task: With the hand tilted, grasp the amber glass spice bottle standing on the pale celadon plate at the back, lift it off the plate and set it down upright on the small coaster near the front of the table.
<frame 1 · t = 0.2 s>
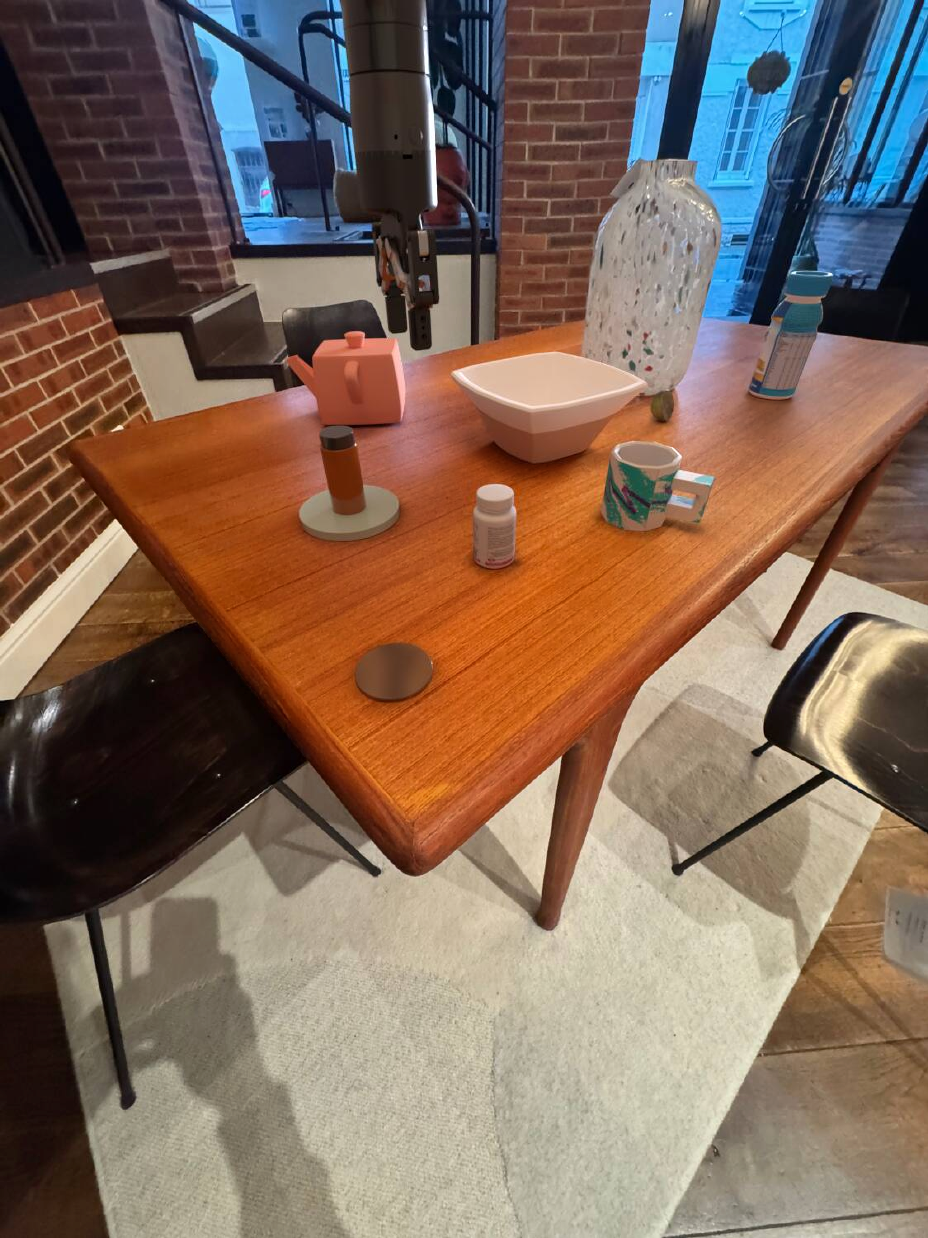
hand: (409, 340, 59), 20 cm above the table, tool pointing down, fingers open, 8 cm apart
coaster: (394, 672, 47), on the table
plate: (351, 515, 69), on the table
lime: (660, 420, 94), on the table
pill bottle: (493, 559, 61), on the table
spice bottle: (349, 506, 68), point 1 cm above the table, touching plate
mug: (648, 520, 67), on the table
teapot: (353, 416, 98), on the table
beverage bottle: (769, 394, 103), on the table
bowl: (540, 445, 86), on the table
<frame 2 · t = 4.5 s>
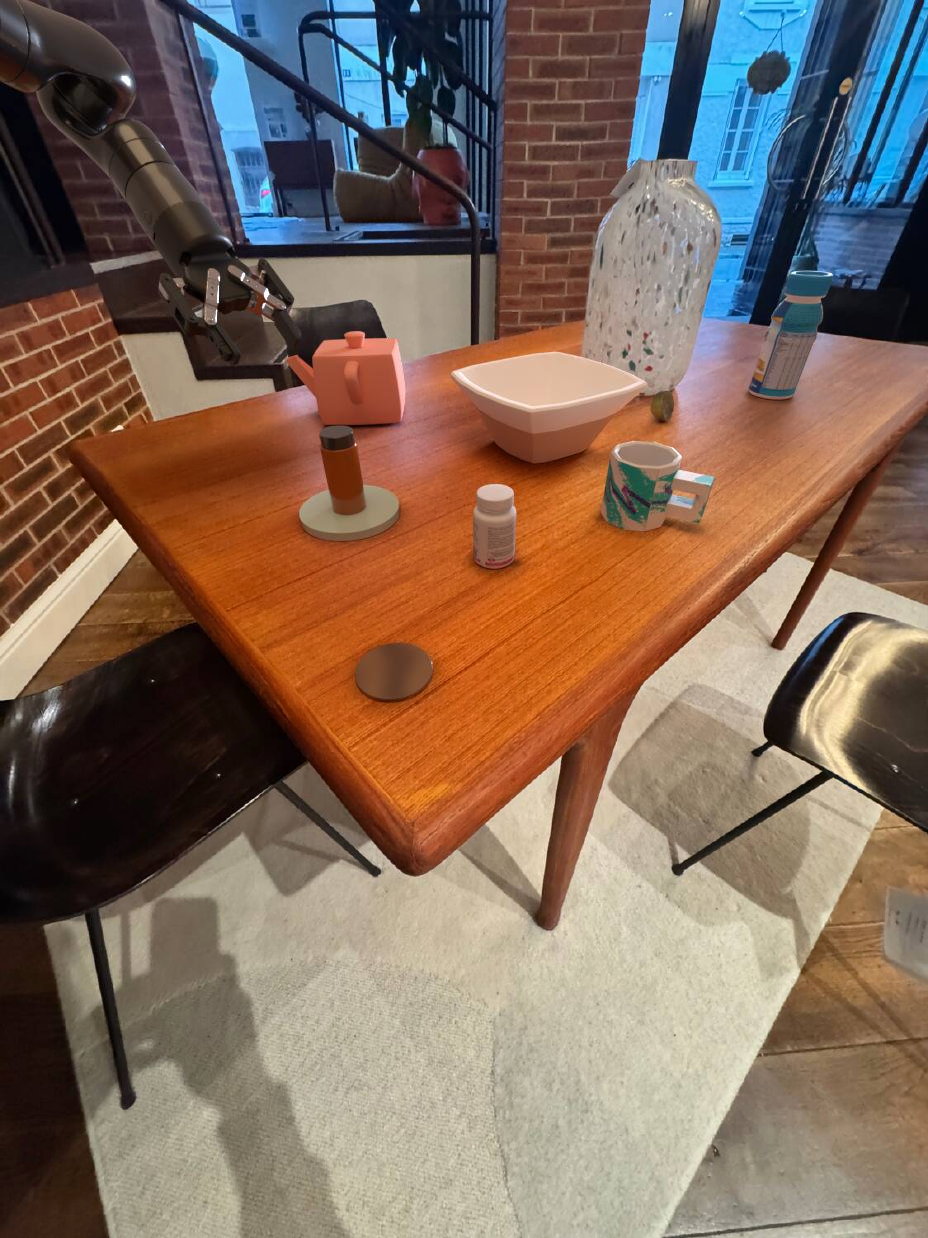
hand: (267, 352, 62), 18 cm above the table, tool tilted 45°, fingers open, 8 cm apart
nothing on the table moved.
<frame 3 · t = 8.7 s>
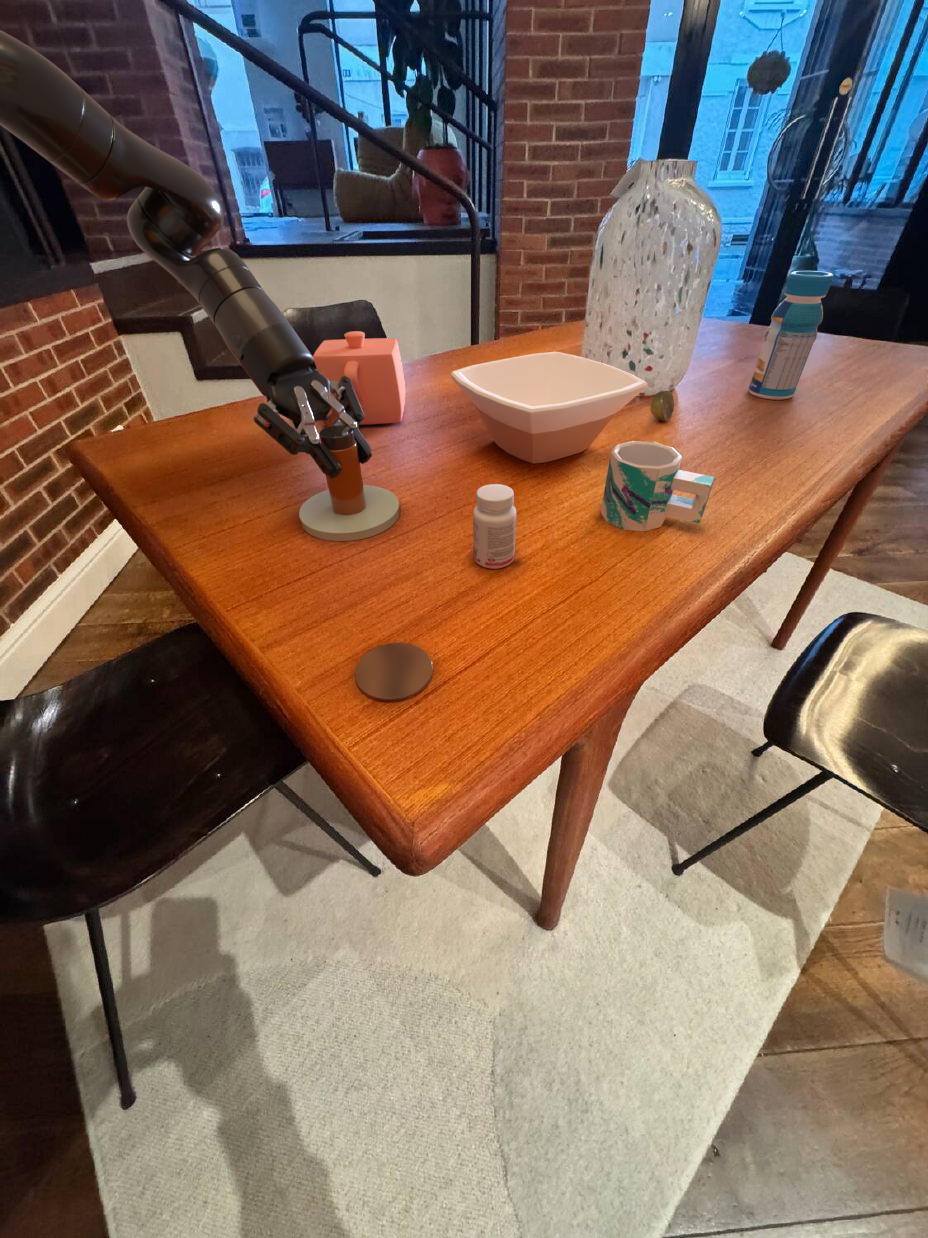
hand: (352, 466, 64), 7 cm above the table, tool tilted 45°, fingers closed on spice bottle, 4 cm apart
spice bottle: (349, 506, 68), point 1 cm above the table, touching gripper, plate
everything else where it was.
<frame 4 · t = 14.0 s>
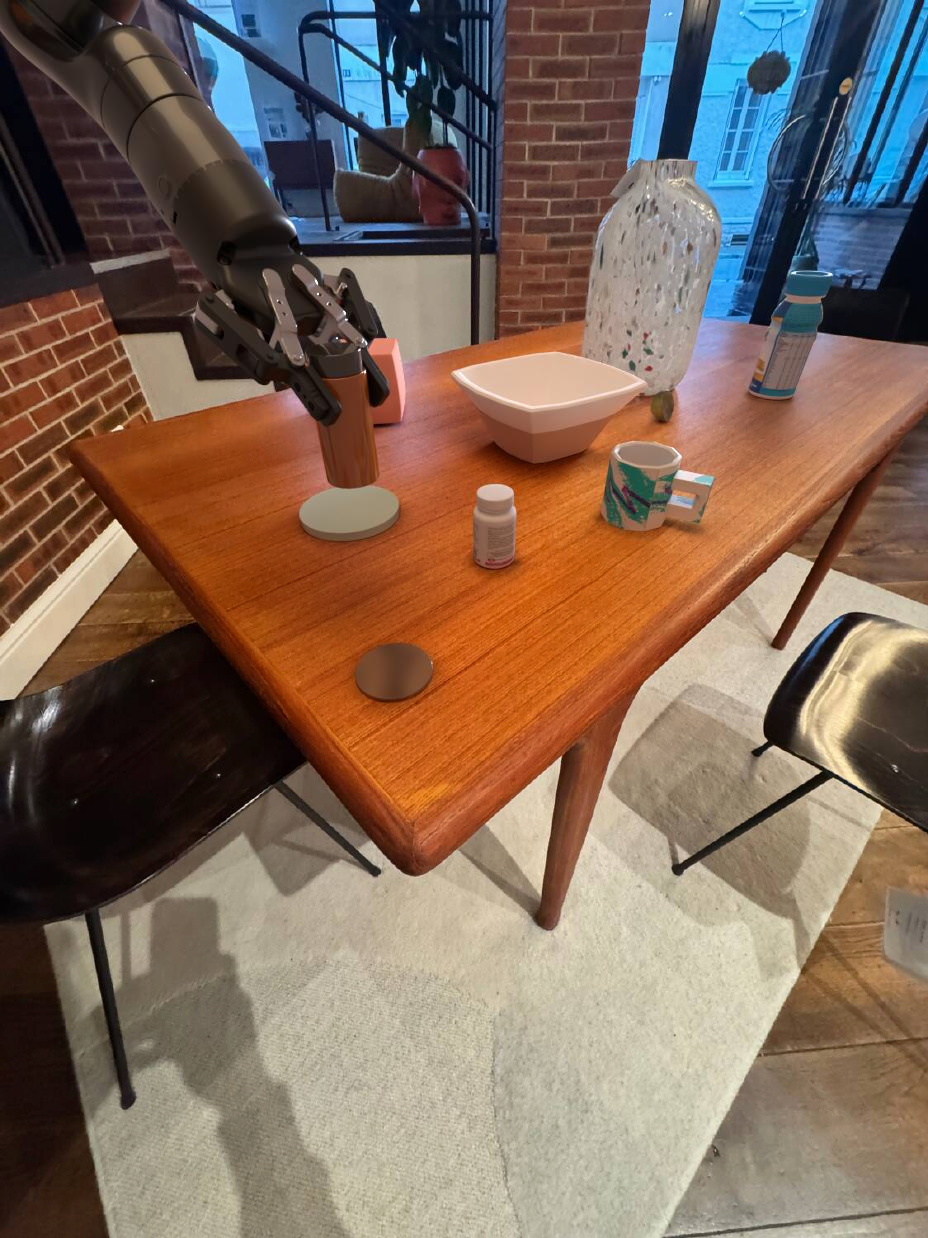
hand: (358, 408, 40), 21 cm above the table, tool tilted 45°, fingers closed on spice bottle, 4 cm apart
spice bottle: (353, 477, 44), point 15 cm above the table, touching gripper
everything else where it was.
when the fingers open (6 cm above the table, at t = 19.6 s): spice bottle stays where it is, resting on coaster.
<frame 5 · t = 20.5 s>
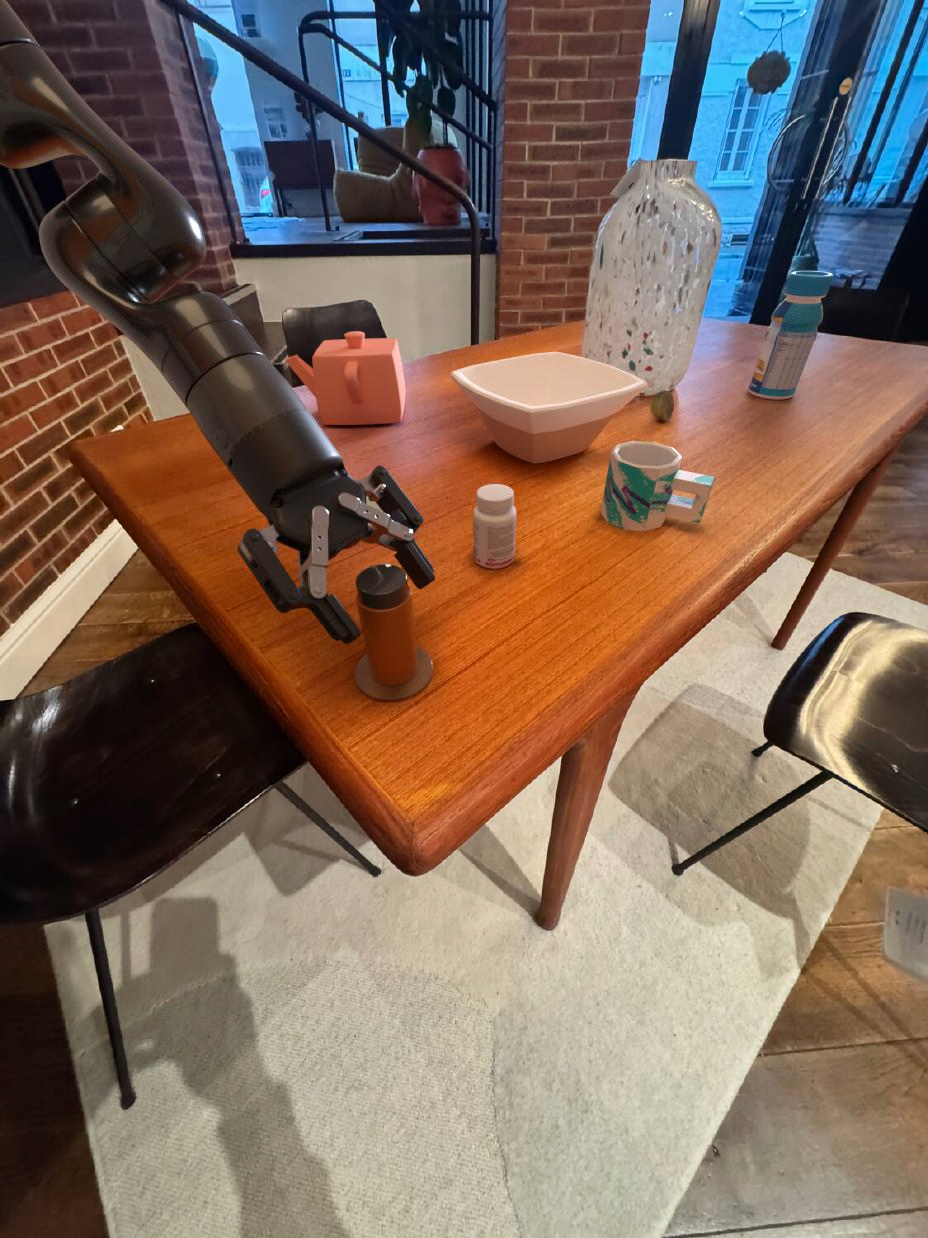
hand: (393, 610, 42), 8 cm above the table, tool tilted 45°, fingers open, 8 cm apart
spice bottle: (394, 668, 47), resting on coaster
everything else where it was.
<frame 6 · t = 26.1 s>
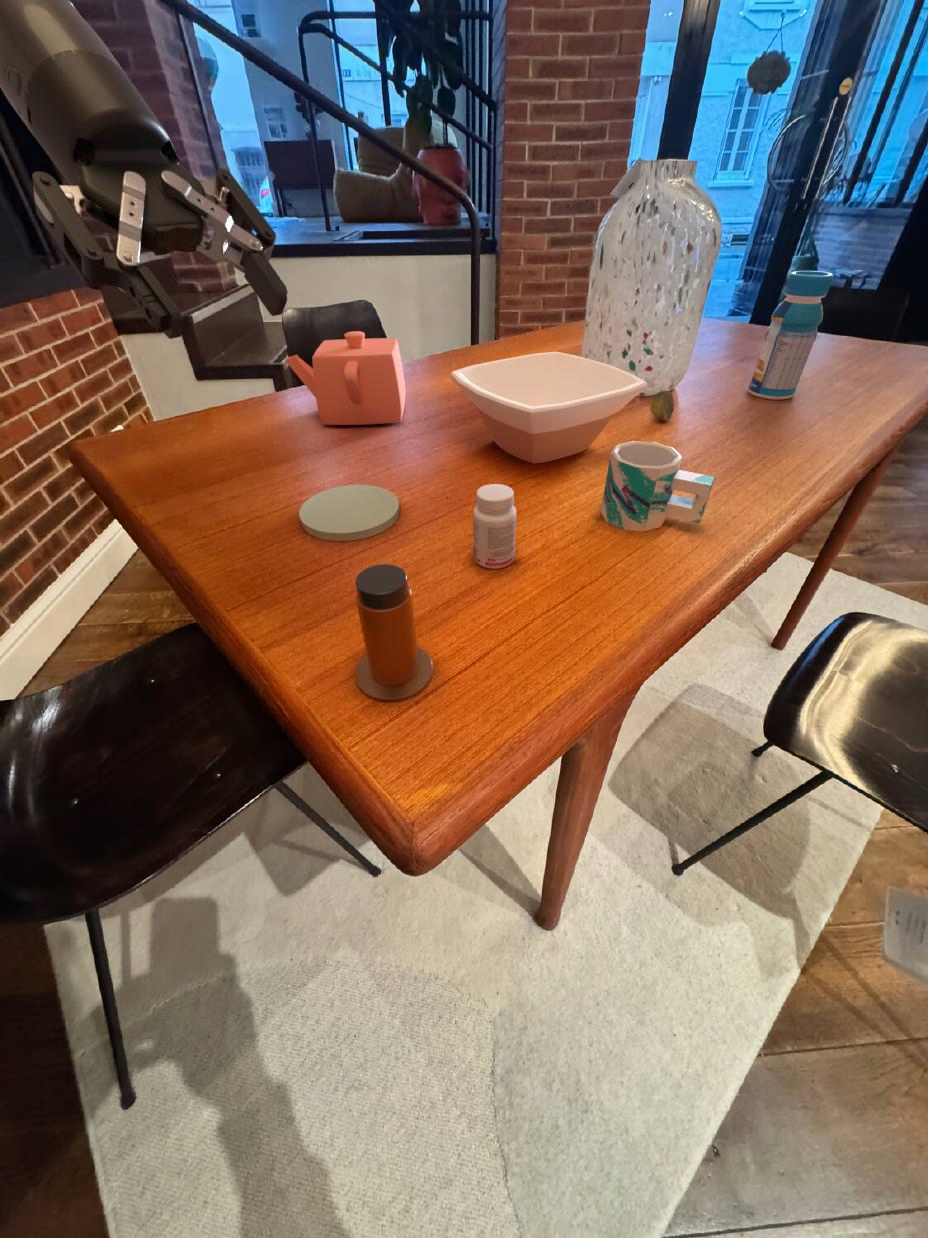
hand: (232, 318, 37), 27 cm above the table, tool tilted 45°, fingers open, 8 cm apart
nothing on the table moved.
at the end: spice bottle 0.1 cm off-centre on the coaster, point 0.4 cm above the coaster's base; spice bottle tilted 0°; spice bottle touching coaster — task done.
